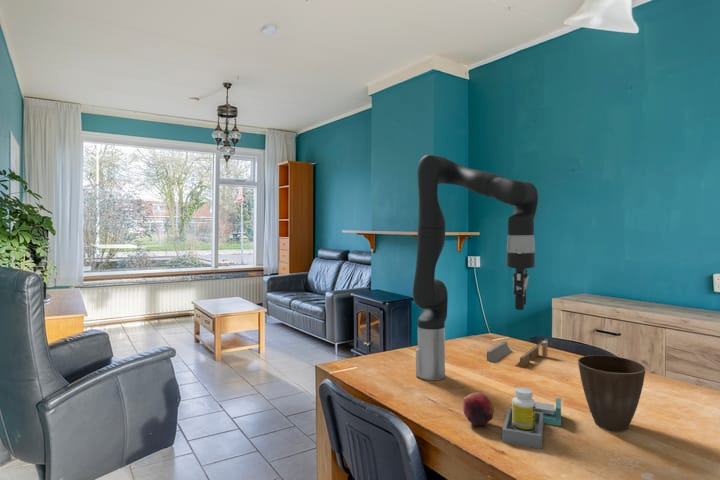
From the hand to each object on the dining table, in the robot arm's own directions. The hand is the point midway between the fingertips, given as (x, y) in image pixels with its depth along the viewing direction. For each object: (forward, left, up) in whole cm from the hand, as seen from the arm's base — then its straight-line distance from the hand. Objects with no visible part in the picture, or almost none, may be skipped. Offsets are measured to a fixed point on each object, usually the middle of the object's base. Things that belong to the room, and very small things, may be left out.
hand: (520, 307), depth 125 cm
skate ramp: (0, +43, -29) cm, 52 cm away
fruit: (-9, -19, -28) cm, 35 cm away
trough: (+2, -19, -28) cm, 34 cm away
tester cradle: (+6, -8, -28) cm, 30 cm away
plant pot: (+22, -6, -28) cm, 36 cm away
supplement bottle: (+2, -19, -27) cm, 33 cm away
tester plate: (+6, -8, -26) cm, 28 cm away
